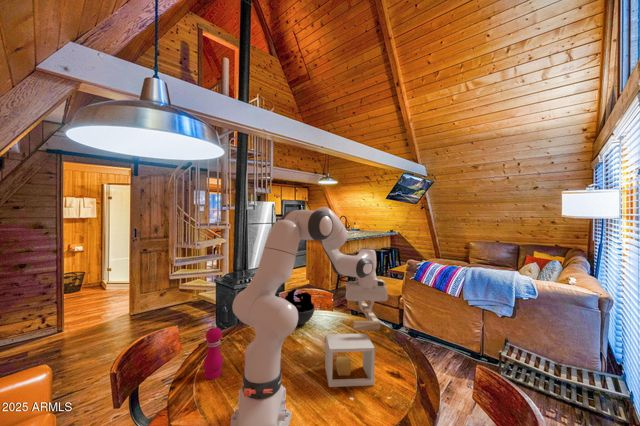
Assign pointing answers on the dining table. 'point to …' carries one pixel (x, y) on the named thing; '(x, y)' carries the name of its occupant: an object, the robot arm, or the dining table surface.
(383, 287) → the robot arm
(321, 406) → the dining table surface
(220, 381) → the dining table surface
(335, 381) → the cubby
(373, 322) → the pale grey hook
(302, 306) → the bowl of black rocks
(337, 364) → the ochre cube
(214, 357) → the pepper mill
